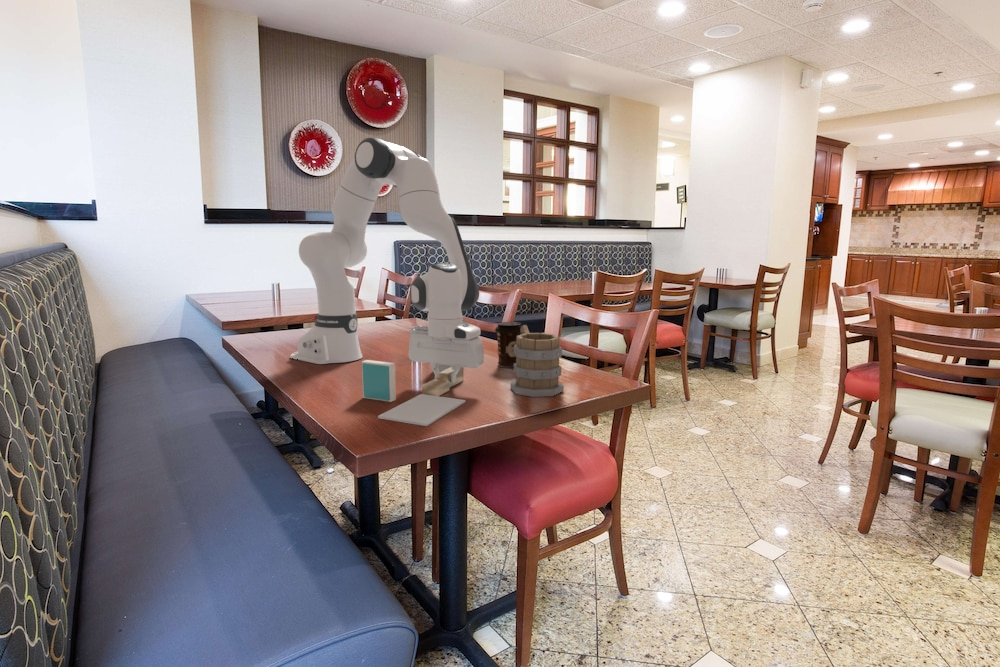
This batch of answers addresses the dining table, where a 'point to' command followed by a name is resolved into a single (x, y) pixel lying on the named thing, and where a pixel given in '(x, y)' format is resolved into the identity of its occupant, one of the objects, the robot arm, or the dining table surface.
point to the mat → (422, 409)
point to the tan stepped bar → (442, 382)
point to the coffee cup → (507, 342)
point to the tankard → (537, 364)
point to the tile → (379, 380)
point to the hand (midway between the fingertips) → (445, 381)
